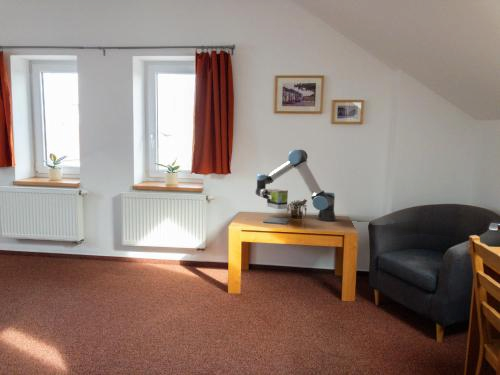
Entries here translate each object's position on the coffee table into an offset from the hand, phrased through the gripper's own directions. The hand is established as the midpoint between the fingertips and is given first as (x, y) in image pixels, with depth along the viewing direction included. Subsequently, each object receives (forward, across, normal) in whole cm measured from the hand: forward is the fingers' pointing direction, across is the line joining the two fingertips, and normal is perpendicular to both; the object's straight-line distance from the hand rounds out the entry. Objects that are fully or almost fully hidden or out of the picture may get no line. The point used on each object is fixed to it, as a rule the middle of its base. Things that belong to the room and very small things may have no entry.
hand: (278, 197), depth 319 cm
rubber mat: (-2, 0, -20) cm, 20 cm away
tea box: (-2, 0, -9) cm, 9 cm away
